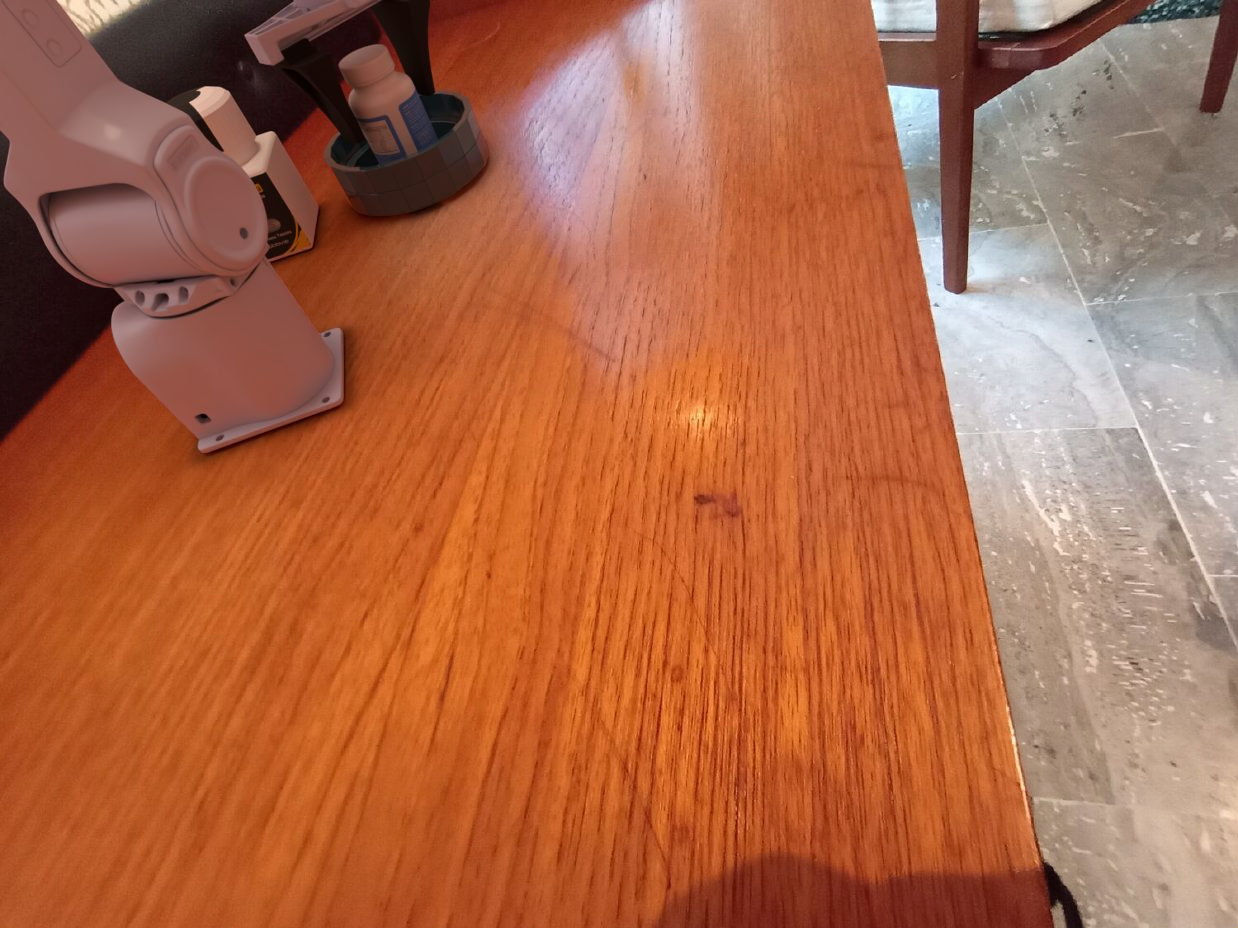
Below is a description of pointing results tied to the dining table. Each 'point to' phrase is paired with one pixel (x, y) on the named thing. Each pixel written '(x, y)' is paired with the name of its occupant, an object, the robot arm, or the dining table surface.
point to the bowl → (412, 162)
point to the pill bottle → (386, 104)
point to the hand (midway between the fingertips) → (391, 116)
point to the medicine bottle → (257, 167)
